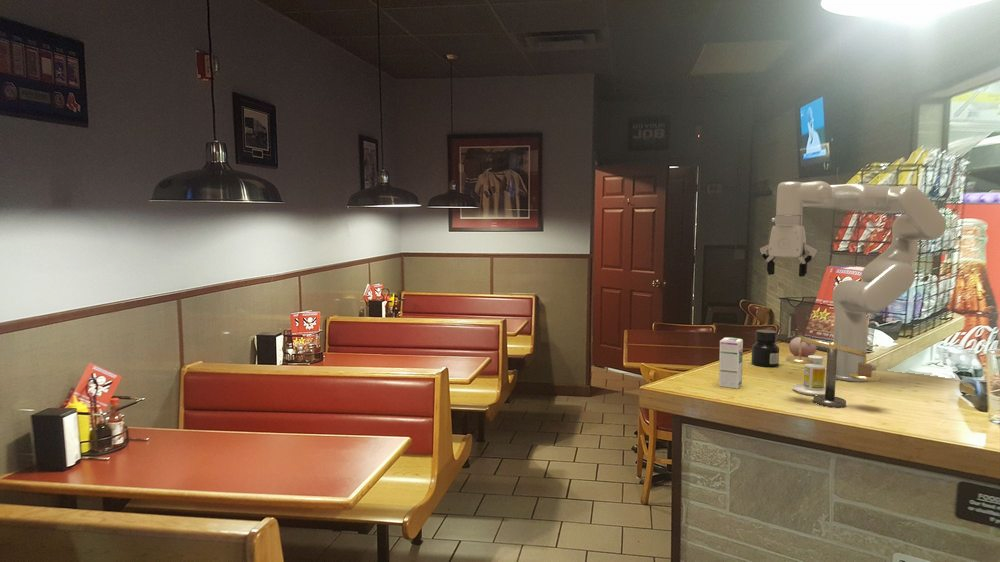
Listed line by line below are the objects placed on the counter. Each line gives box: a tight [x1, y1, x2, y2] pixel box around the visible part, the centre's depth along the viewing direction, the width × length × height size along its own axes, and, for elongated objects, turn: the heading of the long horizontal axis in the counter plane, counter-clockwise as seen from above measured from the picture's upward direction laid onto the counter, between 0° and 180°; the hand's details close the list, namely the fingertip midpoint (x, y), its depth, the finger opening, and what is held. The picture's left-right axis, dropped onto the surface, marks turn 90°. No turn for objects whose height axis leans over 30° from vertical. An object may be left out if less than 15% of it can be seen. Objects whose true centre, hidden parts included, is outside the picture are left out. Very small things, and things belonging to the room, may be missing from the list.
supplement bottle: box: [803, 354, 826, 391], centre depth 181 cm, size 5×5×10 cm
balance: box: [785, 336, 881, 409], centre depth 169 cm, size 8×23×18 cm, turn 62°
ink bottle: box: [751, 329, 780, 368], centre depth 217 cm, size 10×9×12 cm
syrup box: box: [718, 337, 744, 390], centre depth 188 cm, size 6×6×14 cm
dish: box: [791, 383, 826, 396], centre depth 182 cm, size 11×11×1 cm
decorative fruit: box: [788, 333, 817, 358], centre depth 223 cm, size 9×8×10 cm
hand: (786, 275), depth 195 cm, fingers open, 9 cm apart
